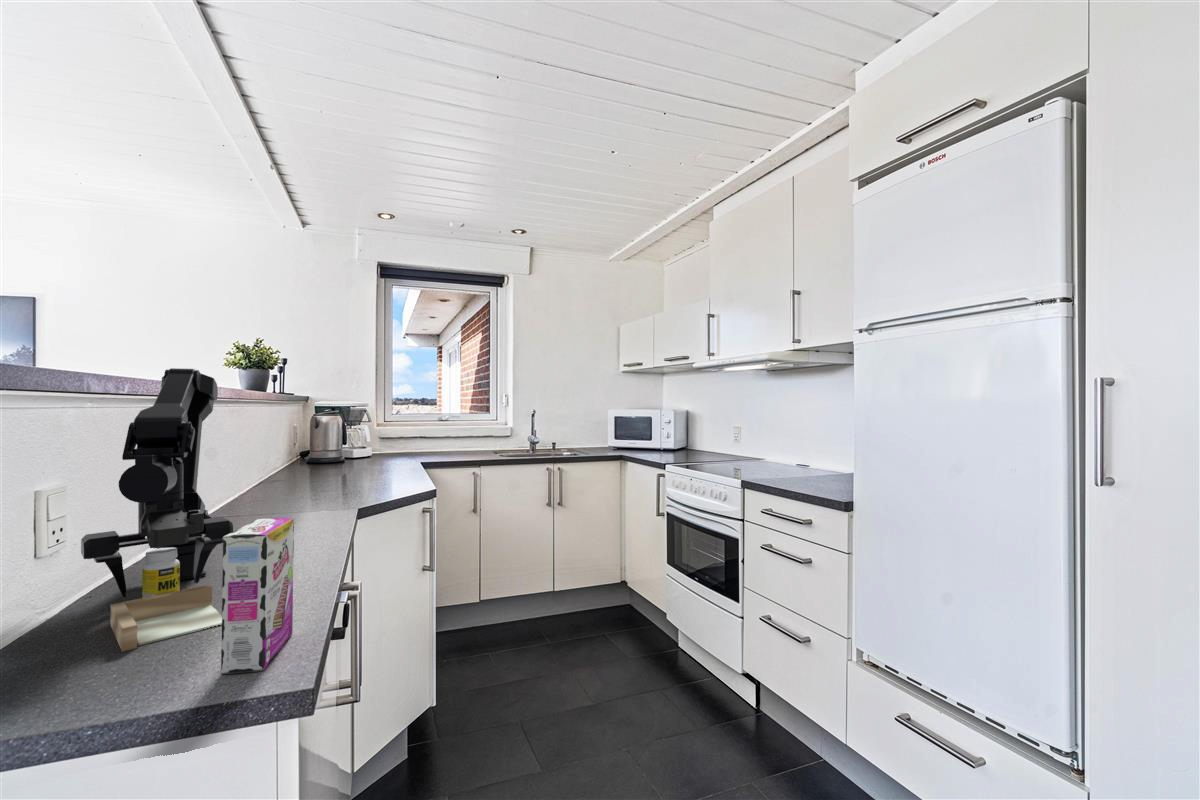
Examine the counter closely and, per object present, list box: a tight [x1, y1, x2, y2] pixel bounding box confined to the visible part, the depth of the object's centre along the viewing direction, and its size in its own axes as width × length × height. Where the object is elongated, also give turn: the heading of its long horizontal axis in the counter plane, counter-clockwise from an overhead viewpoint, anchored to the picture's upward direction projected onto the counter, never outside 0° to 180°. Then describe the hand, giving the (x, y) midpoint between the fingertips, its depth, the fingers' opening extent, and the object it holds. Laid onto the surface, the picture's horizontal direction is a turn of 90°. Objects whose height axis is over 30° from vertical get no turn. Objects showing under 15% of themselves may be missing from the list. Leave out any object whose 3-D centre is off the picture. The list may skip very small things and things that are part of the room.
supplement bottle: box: [141, 548, 181, 598], centre depth 90 cm, size 5×5×8 cm
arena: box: [109, 584, 222, 653], centre depth 80 cm, size 12×12×3 cm
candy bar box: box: [220, 517, 295, 675], centre depth 71 cm, size 11×5×16 cm, turn 13°
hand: (161, 589), depth 90 cm, fingers open, 9 cm apart
